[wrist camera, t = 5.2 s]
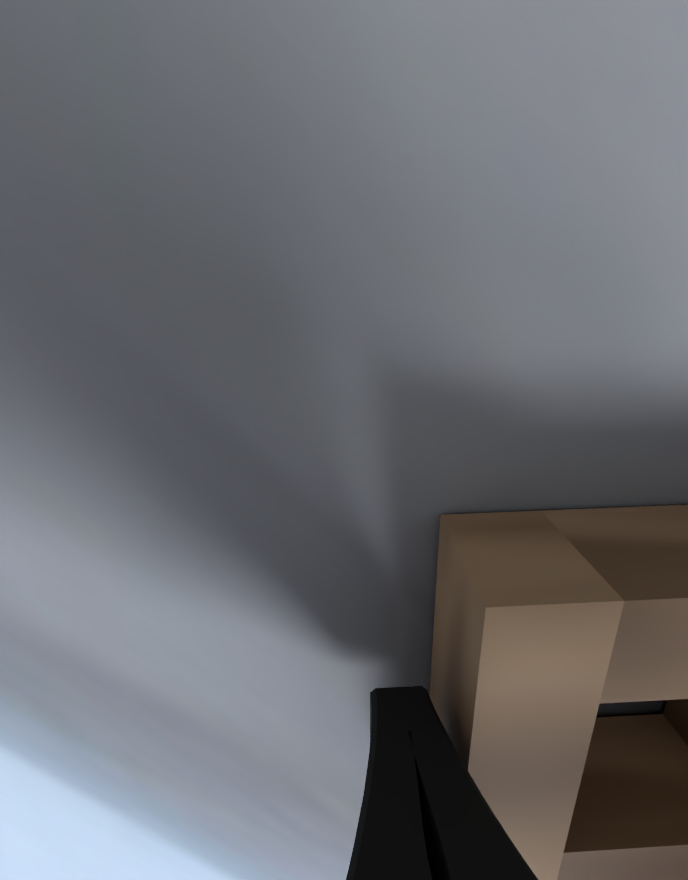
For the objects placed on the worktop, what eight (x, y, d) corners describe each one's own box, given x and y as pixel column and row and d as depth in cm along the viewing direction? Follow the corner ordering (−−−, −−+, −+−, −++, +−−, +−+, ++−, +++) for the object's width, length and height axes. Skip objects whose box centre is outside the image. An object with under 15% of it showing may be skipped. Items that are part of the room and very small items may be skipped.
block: (719, 764, 13) (824, 894, 11) (424, 782, 13) (451, 920, 10) (824, 499, 10) (1012, 582, 8) (440, 514, 10) (485, 607, 7)
